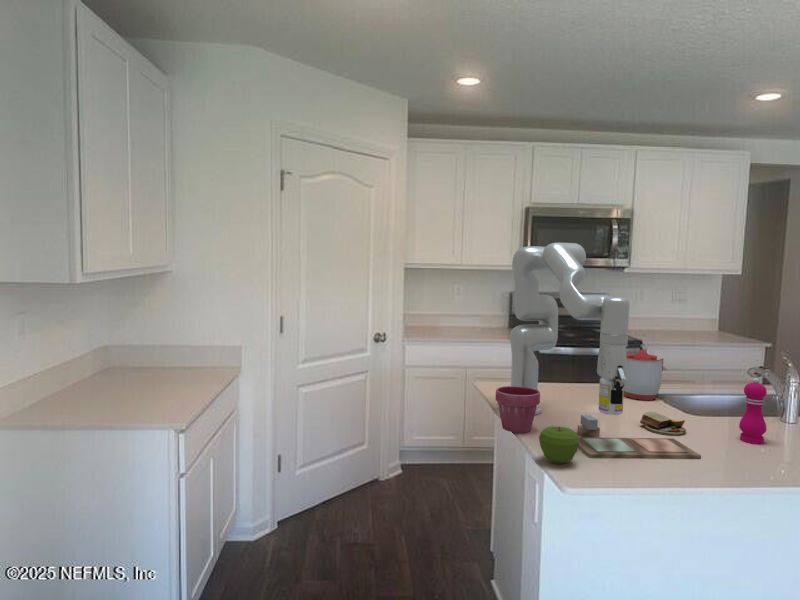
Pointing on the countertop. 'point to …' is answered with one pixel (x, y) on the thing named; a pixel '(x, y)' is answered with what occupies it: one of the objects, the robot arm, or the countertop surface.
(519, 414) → the plant pot
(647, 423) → the toy sandwich meal
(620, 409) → the supplement bottle
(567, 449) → the apple
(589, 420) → the brick grey
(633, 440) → the tile board
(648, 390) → the citrus juicer
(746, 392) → the pepper mill
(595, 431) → the brick walnut
